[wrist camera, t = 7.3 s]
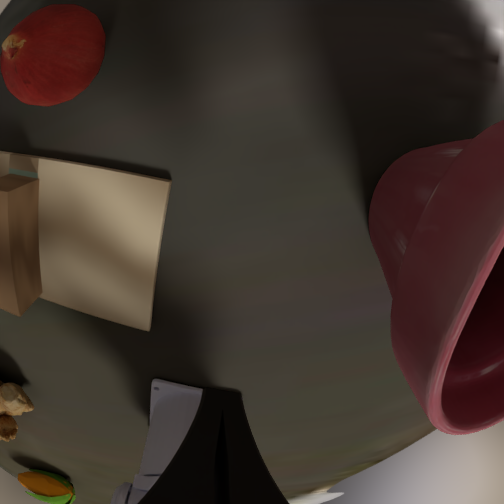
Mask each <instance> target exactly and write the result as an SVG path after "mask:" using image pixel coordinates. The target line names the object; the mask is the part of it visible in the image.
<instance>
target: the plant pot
mask: <svg viewBox="0 0 504 504" xmlns="http://www.w3.org/2000/svg"><path fill="white" fill-rule="evenodd" d="M369 232H370V238H371V242H372V244H373V247H374V249H375V251H376V254H377V256H378V258H379V261H380V264H381V267H382V270H383V272H384V275H385V278H386V281H387V284H388V287H389V290H390V293H391V296H392V298H393V300H392V309H391V341H392V347H393V351H394V354H395V357H396V360H397V362H398V364H399V367H400V369H401V371H402V373H403V375H404V376H405V378H406V380H407V382H408V384H409V386H410V388H411V389H412V391H413V393H414V395H415V396H416V398H417V400H418V402H419V403H420V405H421V407H422V408H423V410H424V412H425V413H426V415H427V417H428V418H429V420H430V421H431V423H432V424H433V425H434V426H435V427H436V428H437V429H439V430H440V431H442V432H445V433H447V434H453V435H459V434H460V435H462V434H469V433H474V432H478V431H480V430H483V429H486V428H488V427H491V426H493V425H495V424H497V423H499V422H501V421H503V420H504V120H502V121H500V122H498V123H496V124H494V125H492V126H490V127H488V128H486V129H485V130H484V131H483V132H481V133H480V134H479V135H477V136H476V137H475V138H473V139H466V140H459V141H453V142H448V143H443V144H438V145H434V146H429V147H425V148H419V149H415V150H412V151H410V152H408V153H406V154H404V155H403V156H401V157H400V158H398V159H397V160H396V161H394V162H393V163H392V164H391V165H390V166H389V167H388V169H387V170H386V171H385V172H384V174H383V175H382V177H381V178H380V180H379V182H378V184H377V186H376V188H375V191H374V193H373V196H372V199H371V204H370V209H369Z"/></svg>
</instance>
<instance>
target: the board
mask: <svg viewBox="0 0 504 504" xmlns="http://www.w3.org/2000/svg"><path fill="white" fill-rule="evenodd" d="M10 173H11V174H16V175H22V176H27V177H32V178H38V179H39V204H38V230H39V256H40V270H41V281H42V291H43V293H42V294H41V295H40V296H39V297H40V298H43V299H45V300H48V301H51V302H54V303H57V304H60V305H62V306H65V307H68V308H71V309H74V310H77V311H80V312H83V313H87V314H90V315H93V316H96V317H99V318H103V319H106V320H109V321H113V322H116V323H119V324H123V325H127V326H130V327H134V328H137V329H141V330H145V331H150V328H151V321H152V311H153V302H154V293H155V284H156V276H157V268H158V261H159V254H160V247H161V240H162V234H163V228H164V222H165V216H166V210H167V204H168V199H169V193H170V188H171V183H172V180H167V179H163V178H158V177H153V176H148V175H143V174H138V173H133V172H128V171H123V170H117V169H112V168H107V167H101V166H96V165H90V164H84V163H78V162H72V161H66V160H60V159H54V158H47V157H41V156H34V155H27V154H20V153H12V152H4V151H0V177H2V176H5V175H7V174H10Z"/></svg>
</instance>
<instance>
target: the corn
mask: <svg viewBox="0 0 504 504" xmlns="http://www.w3.org/2000/svg"><path fill="white" fill-rule="evenodd" d="M29 470H31V471H35V472H24V473H20V474H18V481H19V482H20V483H21V484H22V485H23V486H24V487H26V488H27V489H29V490H30V491H32V492H34V493H35V494H32V493H29V492H26V493H28V494H29V495H31V496H33V497H35V498H37V499H39V500H42V501H44V502H48V503H51V504H71V503H72V502H73V501H74V500H75V498H76V497H75V490H74V487H73V484H72V483H70V482H69V481H67V480H66V479H65V478H64V477H62V476H60V475H58V474H54V473H50V472H46V471H42V470H36V469H29ZM36 494H37V495H36Z"/></svg>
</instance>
